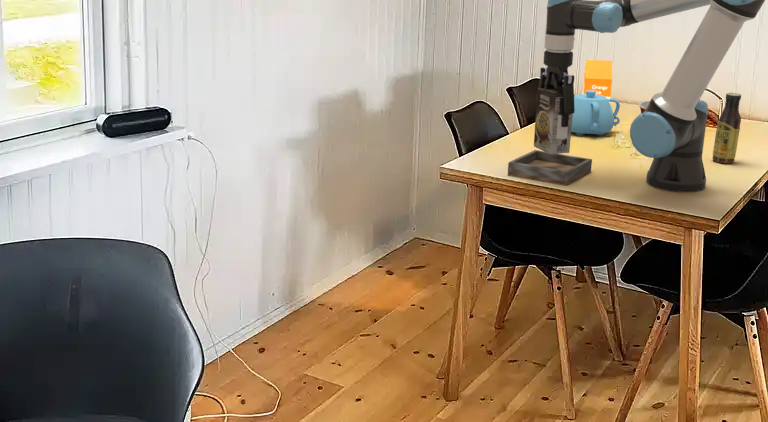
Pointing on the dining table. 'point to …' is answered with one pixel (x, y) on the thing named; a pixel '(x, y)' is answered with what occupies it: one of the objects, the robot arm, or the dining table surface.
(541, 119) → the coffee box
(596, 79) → the orange juice
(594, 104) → the decorative pot
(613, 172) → the dining table surface
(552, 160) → the tray
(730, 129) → the sauce bottle
